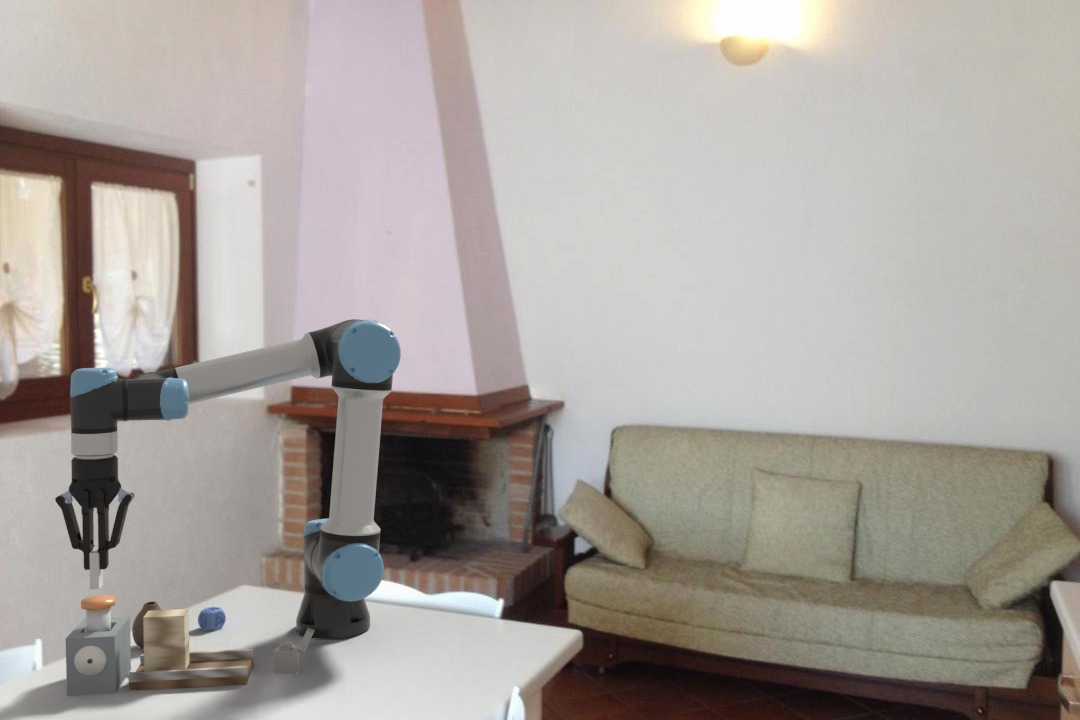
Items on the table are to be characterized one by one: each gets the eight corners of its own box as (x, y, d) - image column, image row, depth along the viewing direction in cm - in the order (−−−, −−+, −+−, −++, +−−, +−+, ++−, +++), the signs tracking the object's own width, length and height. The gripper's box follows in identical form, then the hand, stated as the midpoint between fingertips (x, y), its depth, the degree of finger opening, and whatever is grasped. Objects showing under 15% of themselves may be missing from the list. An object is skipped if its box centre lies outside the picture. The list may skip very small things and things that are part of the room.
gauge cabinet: (131, 669, 185) (129, 616, 185) (114, 694, 174) (113, 637, 173) (85, 672, 184) (83, 618, 183) (65, 696, 173) (64, 639, 172)
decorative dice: (226, 627, 210) (225, 608, 210) (210, 632, 206) (210, 613, 206) (213, 624, 212) (212, 605, 212) (197, 629, 209) (197, 610, 208)
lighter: (274, 673, 184) (274, 630, 183) (276, 670, 185) (275, 627, 185) (313, 672, 184) (313, 630, 184) (315, 669, 186) (314, 627, 185)
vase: (157, 654, 194) (156, 609, 193) (125, 651, 195) (124, 607, 195) (177, 642, 200) (176, 599, 200) (146, 639, 202) (145, 597, 201)
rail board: (253, 664, 188) (253, 648, 188) (246, 684, 179) (246, 667, 178) (141, 670, 185) (141, 654, 185) (128, 690, 175) (128, 674, 175)
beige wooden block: (189, 662, 184) (188, 608, 183) (185, 670, 180) (184, 615, 179) (149, 664, 182) (148, 610, 182) (144, 672, 178) (143, 617, 178)
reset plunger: (119, 637, 182) (118, 594, 182) (111, 648, 177) (110, 603, 176) (87, 639, 181) (86, 595, 181) (77, 650, 176) (76, 605, 175)
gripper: (138, 451, 182) (139, 580, 183) (62, 452, 180) (64, 582, 181) (128, 458, 174) (130, 591, 176) (48, 459, 172) (50, 594, 173)
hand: (96, 587), depth 178 cm, fingers closed
